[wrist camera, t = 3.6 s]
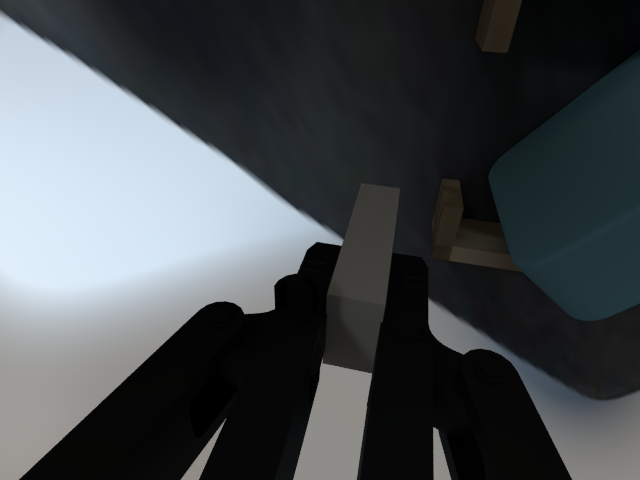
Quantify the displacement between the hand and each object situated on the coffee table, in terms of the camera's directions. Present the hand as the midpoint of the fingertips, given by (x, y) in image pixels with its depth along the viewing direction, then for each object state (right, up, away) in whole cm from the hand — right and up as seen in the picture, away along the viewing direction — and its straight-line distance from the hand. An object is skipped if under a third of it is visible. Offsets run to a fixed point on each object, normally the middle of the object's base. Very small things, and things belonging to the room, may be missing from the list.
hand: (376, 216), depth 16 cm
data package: (+14, +6, +9) cm, 18 cm away
